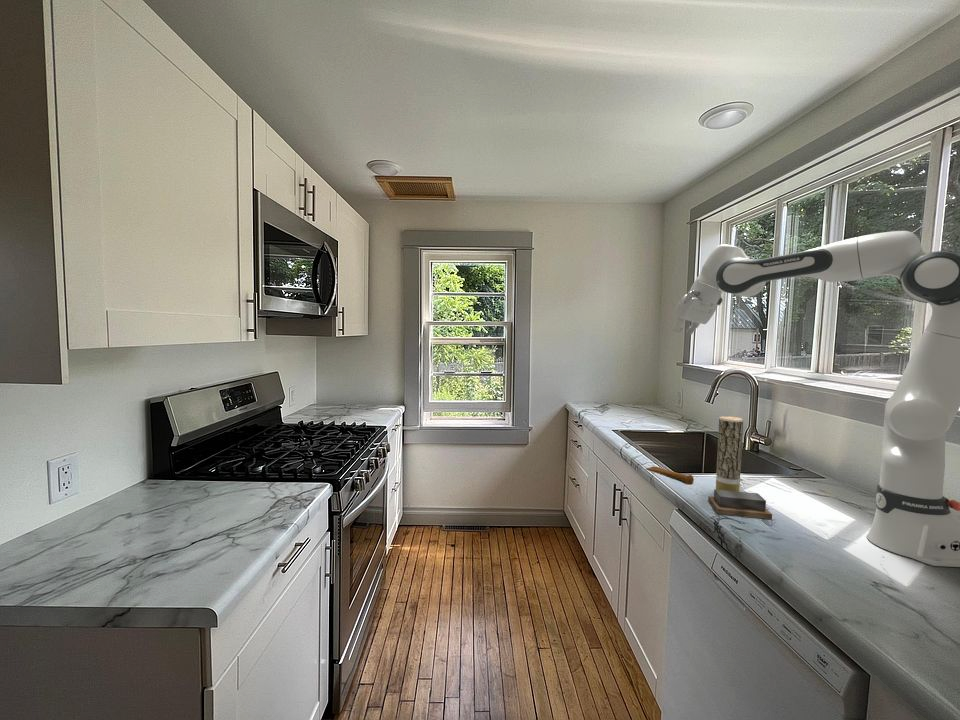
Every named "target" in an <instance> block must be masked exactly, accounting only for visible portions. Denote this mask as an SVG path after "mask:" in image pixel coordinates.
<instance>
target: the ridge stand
mask: <svg viewBox="0 0 960 720" xmlns="http://www.w3.org/2000/svg"><path fill="white" fill-rule="evenodd" d="M707 501H708V503H709V502H710V503H709V504H710V505H711V507H712V508H713V509H714V511H715V512H716V513H718V515H725V514H726V516H734V515H737V517H744V516H746V517H745V518H754V517H755V519H763V518H764V519H763V520H772V519H773V513H771V512H770V510H769V509H768V508H767V500H765V498H763V496H762V495H760V494H759V493H757V492H746V491H739V492H737V491H726V490H716V488H715V489H714V490H713V496H708V499H707Z"/></svg>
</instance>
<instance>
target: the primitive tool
mask: <svg viewBox="0 0 960 720" xmlns="http://www.w3.org/2000/svg"><path fill="white" fill-rule="evenodd" d="M645 470H647V471H650V472H653V473H657V474H659V473H660V474H659V475H662V474H663V476H665V475H666V476H665V477H668V476H669V478H670V479H674V480H678V481H680V480H681V482H684V483H686V484H687V485H692V484H693V483H694V480H695V479H694V476H693V475H692V474H683V473H679V472H676V471H671V470H667V469H664V468H661V467H659V466H651V467H647V468H645Z"/></svg>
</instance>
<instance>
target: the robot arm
mask: <svg viewBox="0 0 960 720" xmlns="http://www.w3.org/2000/svg"><path fill="white" fill-rule="evenodd" d="M877 277H893V278H895V279H896V280H897V282H898V284H899V285H900V287H901V288H902V289H901V290H902V291H903V292H904V294H905V295H907V297H909V298H910V299H911V300H914V301H916V302H920V303H924V304H930V307H931V309H932V312H931V313H932V314H931V316H930V319H929V321H928V323H927V325H926V327H925V329H924V331H923V332H922V335H921V337H920V339H919V340H918V343H917V345H916V346H915V348H914V351H913V353H912V354H911V357H910V359H908V362H907V364H906V367H905V370H904V371H903V373H902V375H901V378H900V380H899V381H898V384H897V386H896V388H895V390H894V392H893V394H892V395H891V396H890V397H889V398H888V400H887V401H886V403H885V406H884V417H883V419H884V420H883V430H882V431H883V434H882V444H881V445H882V447H881V456H880V457H881V458H880V459H881V460H880V469H879V484H877V485H876V491H875V492H876V493H875V508H876V509H875V513H874V516H873V521H872V524H871V526H870V529H869V530H868V533H867V534H866V538H867V540H868V541H870V542H871V543H872V544H874V545H875V546H877V547H880V548H881V549H884V550H886V551H889V552H891V553H894V554H897V555H900V556H903V557H906V558H907V557H908V558H911V559H914V560H916V561H919V562H921V563H924V564H927V565H929V566H934V567H952V568H953V567H954V568H960V519H959V518H958V517H957V516H955V514H952V513H951V510H950V508H951V509H952V510H954V511H957V512H960V501H959V502H958V501H957V500H954V499H951V500H950V499H949V498H947V497H945V496H943V495H944V494H943V492H944V483H945V479H944V478H945V470H946V469H945V468H946V433H947V432H948V431H949V430H950V427H951V426H952V424H953V422H954V420H955V418H956V416H957V413H958V412H959V409H960V254H959V253H955V252H953V251H945V250H937V251H930V252H925V251H924V250H923V248H922V242H921V241H920V238H919V237H918V236H917V235H916V234H915V233H913V232H912V231H909V230H896V231H895V230H894V231H893V230H892V231H886V232H877V233H871V234H866V235H865V234H864V235H861V236H855V237H850V238H846V239H843V240H839V241H835V242H831V243H829V244H825V245H822V246H818V247H815V248H811V249H808V250H804V251H798V252H793V253H788V254H782V255H781V254H780V255H776V256H771V257H766V258H765V257H764V258H759V259H752V258H749V257H748V256H747V254H746V253H745V251H744V249H743V248H741V247H740V246H737V245H732V244H726V243H725V244H719V245H717V246H715V247H714V248H713V249H712V250H711V252H710V254H709V255H708V257H707V259H706V260H705V261H704V263H703V265H702V267H701V271H700V274H699V275H698V276H697V277H696V278H695V280H694V282H693V283H692V285H691V287H690V289H689V291H688V292H687V293H686V294H684V295H683V296H682V298H680V300H679V302H678V304H677V305H676V306H675V309H674V310H673V316H675V317H677V318H676V321H675V325H674V328H673V331H674V332H675V333H681V332H682V329H683V325H684V324H685V323H686V321H690V322H691V324H690V326H689V327H687V328H686V330H685V333H686V334H687V335H693V333H694V332H695V331H696V330H697V328H699V327H700V325H701V324H702V325H706V324H708V323H709V321H710V320H711V318H712V317H713V316H714V314H715V313H716V311H717V309H718V307H720V306H721V304H722V303H723V298H722V294H723V292H725V293H727V294H732V295H733V294H734V296H739V297H745V298H746V297H751V298H752V297H753V296H754V297H755V296H756V295H758V294H760V293H761V292H762V291H763V290H764V289H765V288H766V287H765V286H766V284H767V282H772V281H778V280H785V279H791V278H809V279H810V278H811V279H817V280H819V281H820V280H821V281H825V282H828V283H829V282H830V283H834V282H835V283H838V282H839V283H840V282H841V283H842V282H853V281H859V280H867V279H870V278H871V279H872V278H877Z"/></svg>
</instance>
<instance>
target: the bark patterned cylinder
mask: <svg viewBox="0 0 960 720" xmlns="http://www.w3.org/2000/svg"><path fill="white" fill-rule="evenodd" d="M743 430H744V419H743V418H741V417H736V416H729V415H727V416H719V419H718V435H717V436H718V437H717V455H716V456H717V457H716V474H715V475H716V476H715V477H716V478H715V490H726V491H737V492H740V490H741V489H740V485H741V469H742V468H741V467H742V452H743V451H742V449H743V432H744V431H743Z"/></svg>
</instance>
